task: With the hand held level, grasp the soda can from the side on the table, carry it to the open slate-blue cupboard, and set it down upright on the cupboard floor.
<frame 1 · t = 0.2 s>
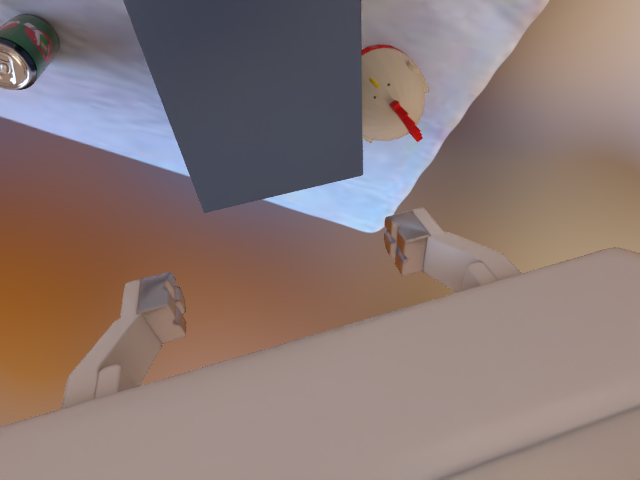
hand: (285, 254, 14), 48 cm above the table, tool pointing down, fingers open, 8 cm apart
soda can: (36, 36, 46), on the table
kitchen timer: (373, 90, 63), on the table
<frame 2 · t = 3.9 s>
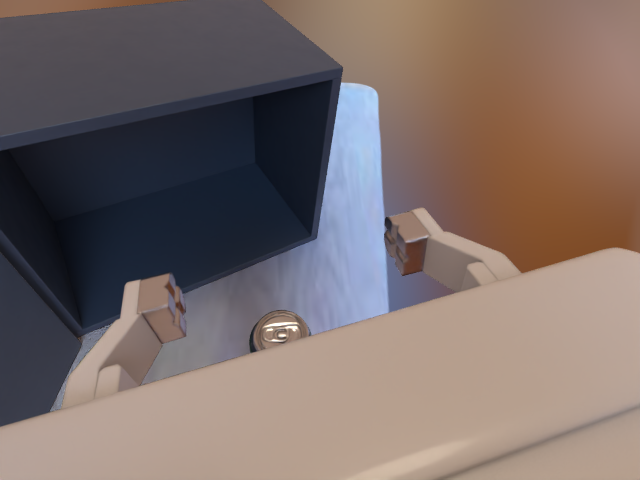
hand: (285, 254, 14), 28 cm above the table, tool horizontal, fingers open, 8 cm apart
soda can: (278, 386, 39), on the table
cupboard: (186, 231, 50), on the table
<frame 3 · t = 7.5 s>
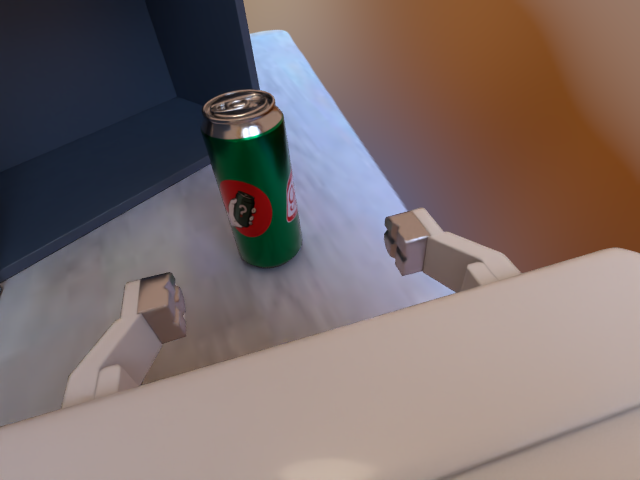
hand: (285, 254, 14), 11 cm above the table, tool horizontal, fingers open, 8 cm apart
soda can: (272, 250, 31), on the table
cupboard: (115, 165, 42), on the table
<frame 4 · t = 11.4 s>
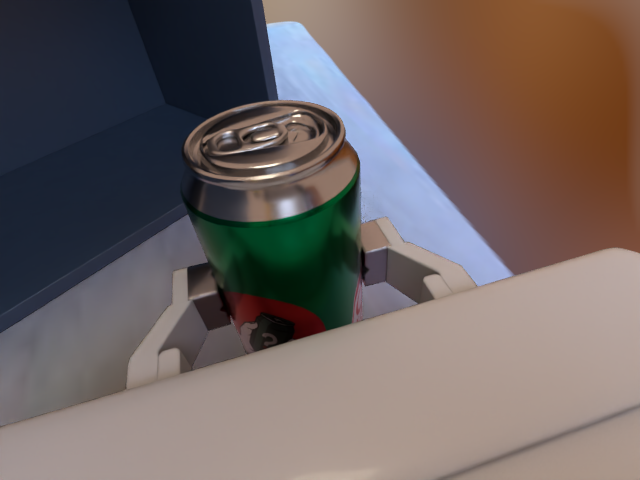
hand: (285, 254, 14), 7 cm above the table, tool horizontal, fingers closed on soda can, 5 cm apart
soda can: (310, 365, 18), on the table, touching gripper
cupboard: (75, 202, 30), on the table
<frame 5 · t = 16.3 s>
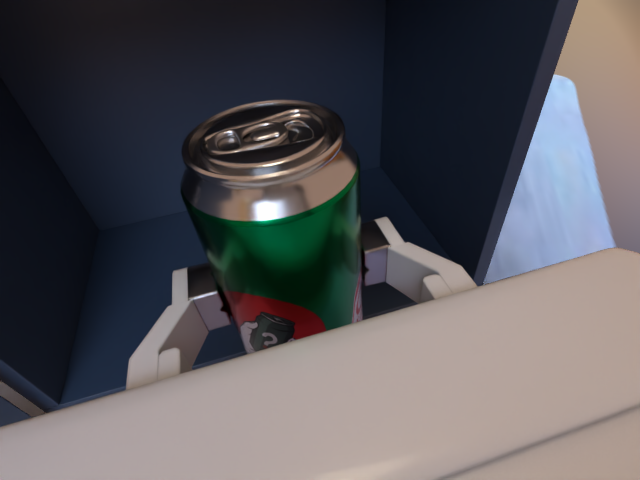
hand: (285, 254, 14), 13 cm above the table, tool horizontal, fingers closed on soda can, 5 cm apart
soda can: (310, 365, 18), point 6 cm above the table, touching gripper
cupboard: (262, 259, 32), on the table
when the fingers open (8 cm above the table, at t = 21.2 s): soda can stays where it is, resting on cupboard.
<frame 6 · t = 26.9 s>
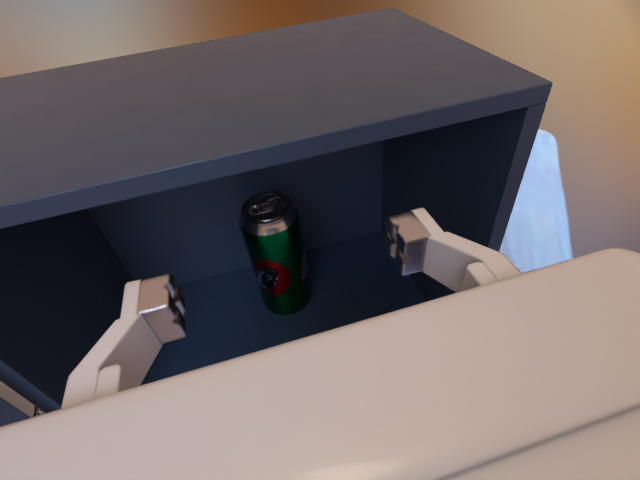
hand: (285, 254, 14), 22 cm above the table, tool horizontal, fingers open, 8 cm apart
soda can: (288, 299, 39), point 1 cm above the table, touching cupboard
cupboard: (282, 321, 38), on the table
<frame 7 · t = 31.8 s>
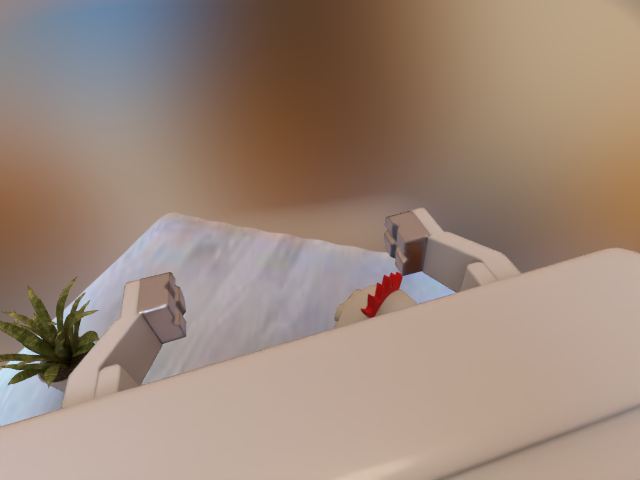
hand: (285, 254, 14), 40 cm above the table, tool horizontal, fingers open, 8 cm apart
house plant: (99, 375, 56), on the table
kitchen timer: (380, 348, 56), on the table
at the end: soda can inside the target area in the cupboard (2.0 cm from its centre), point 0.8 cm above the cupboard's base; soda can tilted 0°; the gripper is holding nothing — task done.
